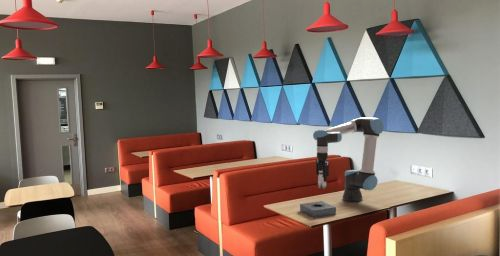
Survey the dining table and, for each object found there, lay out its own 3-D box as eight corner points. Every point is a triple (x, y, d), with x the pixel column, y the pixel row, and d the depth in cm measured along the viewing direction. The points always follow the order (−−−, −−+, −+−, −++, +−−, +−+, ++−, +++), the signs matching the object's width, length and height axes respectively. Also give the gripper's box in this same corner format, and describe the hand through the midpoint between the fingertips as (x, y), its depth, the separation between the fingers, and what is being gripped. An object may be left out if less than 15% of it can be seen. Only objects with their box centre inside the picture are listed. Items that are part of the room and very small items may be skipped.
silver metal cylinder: (323, 186, 287) (323, 169, 286) (327, 188, 283) (327, 171, 282) (317, 187, 285) (317, 170, 284) (321, 188, 281) (321, 171, 280)
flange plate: (321, 207, 297) (321, 201, 297) (336, 214, 281) (335, 207, 280) (300, 211, 290) (300, 204, 290) (313, 217, 274) (313, 210, 274)
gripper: (310, 151, 289) (310, 183, 290) (325, 154, 272) (324, 188, 274) (319, 150, 292) (319, 182, 293) (334, 153, 276) (334, 187, 277)
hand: (322, 185), depth 284 cm, fingers closed on silver metal cylinder, 5 cm apart
